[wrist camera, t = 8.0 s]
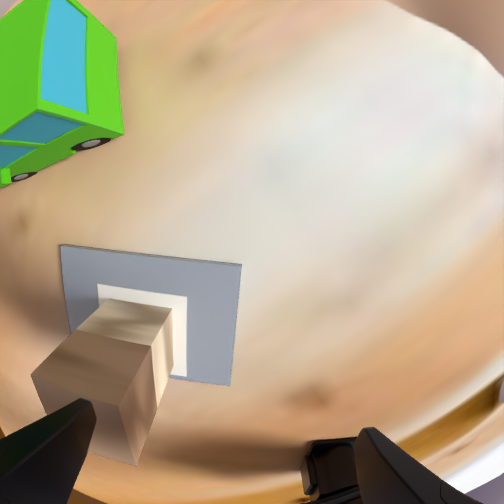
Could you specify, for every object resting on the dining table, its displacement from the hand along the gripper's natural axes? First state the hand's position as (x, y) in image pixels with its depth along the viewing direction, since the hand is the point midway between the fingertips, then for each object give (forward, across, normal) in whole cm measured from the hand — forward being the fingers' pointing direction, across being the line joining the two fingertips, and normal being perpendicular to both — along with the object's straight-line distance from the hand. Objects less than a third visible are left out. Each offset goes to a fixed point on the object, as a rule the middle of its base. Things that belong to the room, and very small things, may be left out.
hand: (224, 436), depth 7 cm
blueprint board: (+12, +7, +3) cm, 15 cm away
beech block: (+12, +7, +4) cm, 14 cm away
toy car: (+13, +16, -12) cm, 24 cm away
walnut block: (+7, +7, +4) cm, 10 cm away
